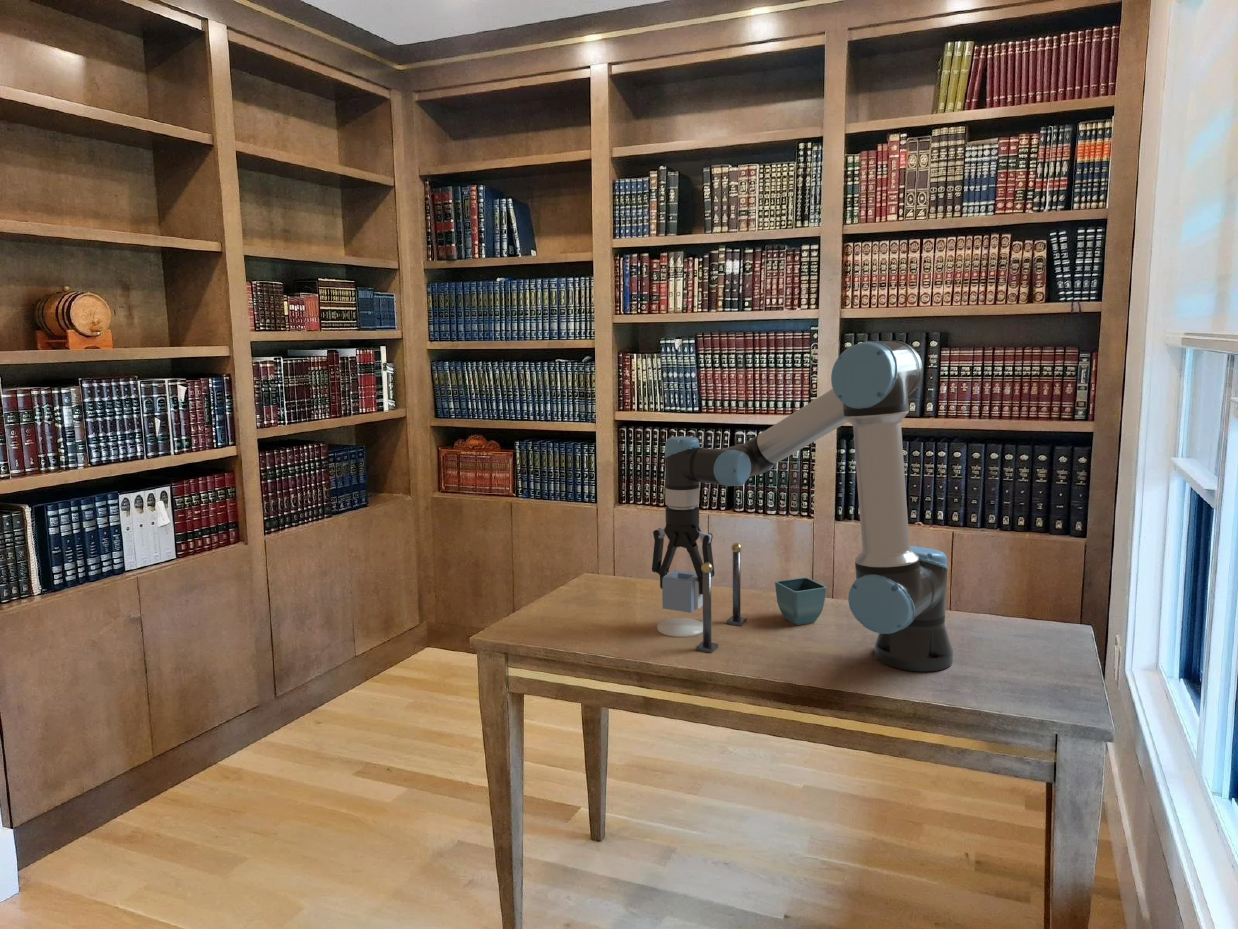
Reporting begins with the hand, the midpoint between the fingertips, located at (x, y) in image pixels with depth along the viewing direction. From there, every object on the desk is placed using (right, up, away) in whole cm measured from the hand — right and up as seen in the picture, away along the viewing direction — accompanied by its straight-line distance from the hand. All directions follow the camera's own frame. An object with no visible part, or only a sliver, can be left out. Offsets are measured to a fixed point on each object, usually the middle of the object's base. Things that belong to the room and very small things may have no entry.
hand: (683, 605), depth 193 cm
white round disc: (0, -6, +1) cm, 6 cm away
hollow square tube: (0, 0, 0) cm, 0 cm away
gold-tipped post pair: (+9, -6, -4) cm, 11 cm away
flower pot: (+28, -5, +4) cm, 28 cm away
